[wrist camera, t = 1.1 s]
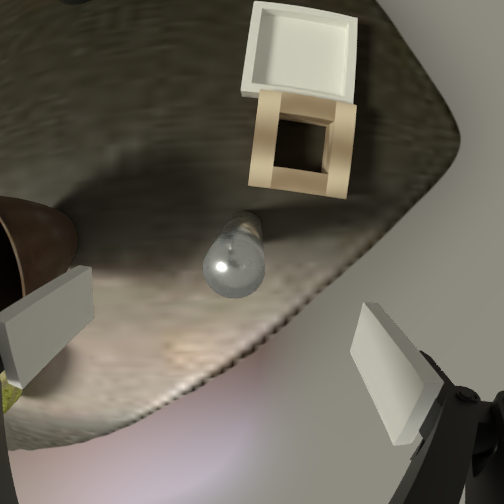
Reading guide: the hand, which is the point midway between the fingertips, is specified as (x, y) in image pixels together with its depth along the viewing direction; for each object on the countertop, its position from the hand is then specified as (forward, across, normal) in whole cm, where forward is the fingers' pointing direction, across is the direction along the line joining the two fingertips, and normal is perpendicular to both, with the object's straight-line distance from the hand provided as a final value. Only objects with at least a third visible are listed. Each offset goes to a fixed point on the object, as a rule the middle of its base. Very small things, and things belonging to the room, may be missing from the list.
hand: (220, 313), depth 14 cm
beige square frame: (+22, +5, +10) cm, 25 cm away
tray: (+22, +4, +21) cm, 31 cm away
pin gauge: (+22, 0, 0) cm, 23 cm away
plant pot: (+23, -25, -4) cm, 34 cm away
